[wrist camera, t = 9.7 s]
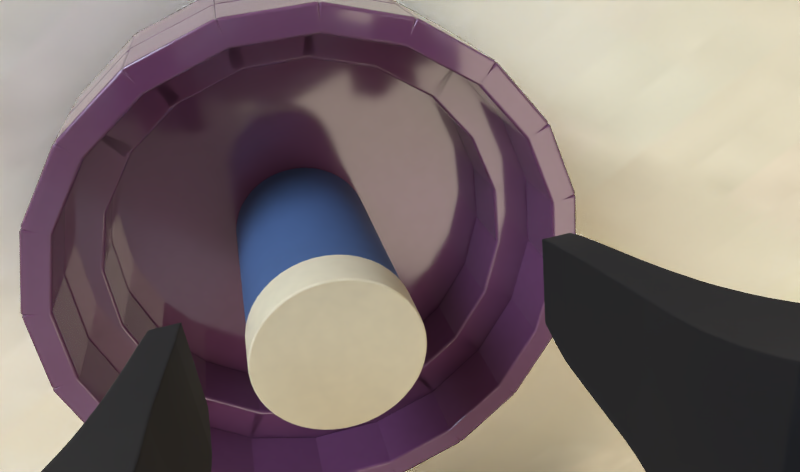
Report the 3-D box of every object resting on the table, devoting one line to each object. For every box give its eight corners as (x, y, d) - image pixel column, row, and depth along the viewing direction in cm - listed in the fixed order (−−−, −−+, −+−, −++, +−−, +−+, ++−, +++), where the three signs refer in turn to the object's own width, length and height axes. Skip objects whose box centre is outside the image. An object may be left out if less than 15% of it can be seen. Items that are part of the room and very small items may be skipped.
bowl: (505, -58, 21) (575, -41, 17) (524, 349, 28) (577, 428, 24) (-27, 26, 19) (-87, 67, 15) (133, 447, 26) (121, 552, 22)
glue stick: (353, 151, 22) (412, 257, 16) (378, 267, 24) (439, 401, 18) (217, 184, 22) (225, 308, 15) (254, 300, 23) (273, 451, 17)
